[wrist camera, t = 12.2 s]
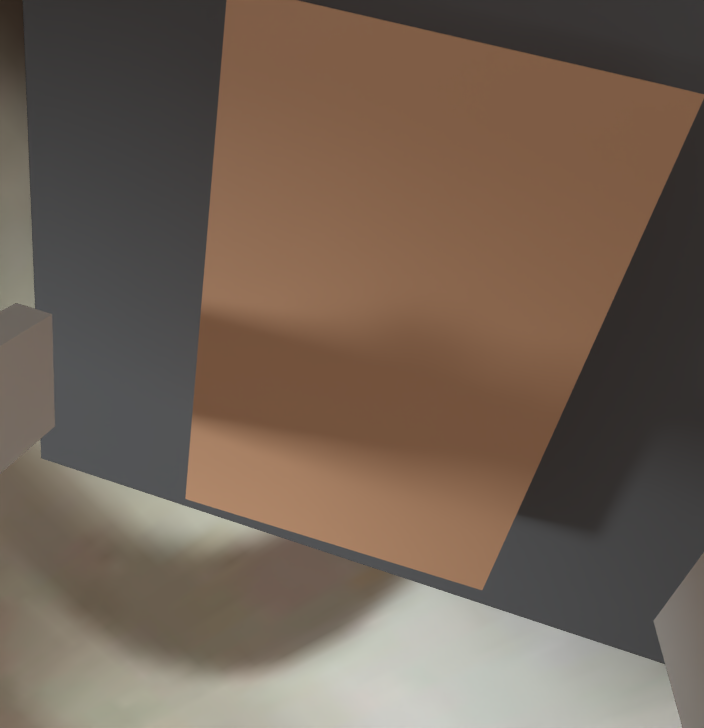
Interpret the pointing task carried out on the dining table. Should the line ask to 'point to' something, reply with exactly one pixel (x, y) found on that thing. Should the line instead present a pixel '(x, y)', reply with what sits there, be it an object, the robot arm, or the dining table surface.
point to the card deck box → (407, 274)
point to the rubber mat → (186, 273)
